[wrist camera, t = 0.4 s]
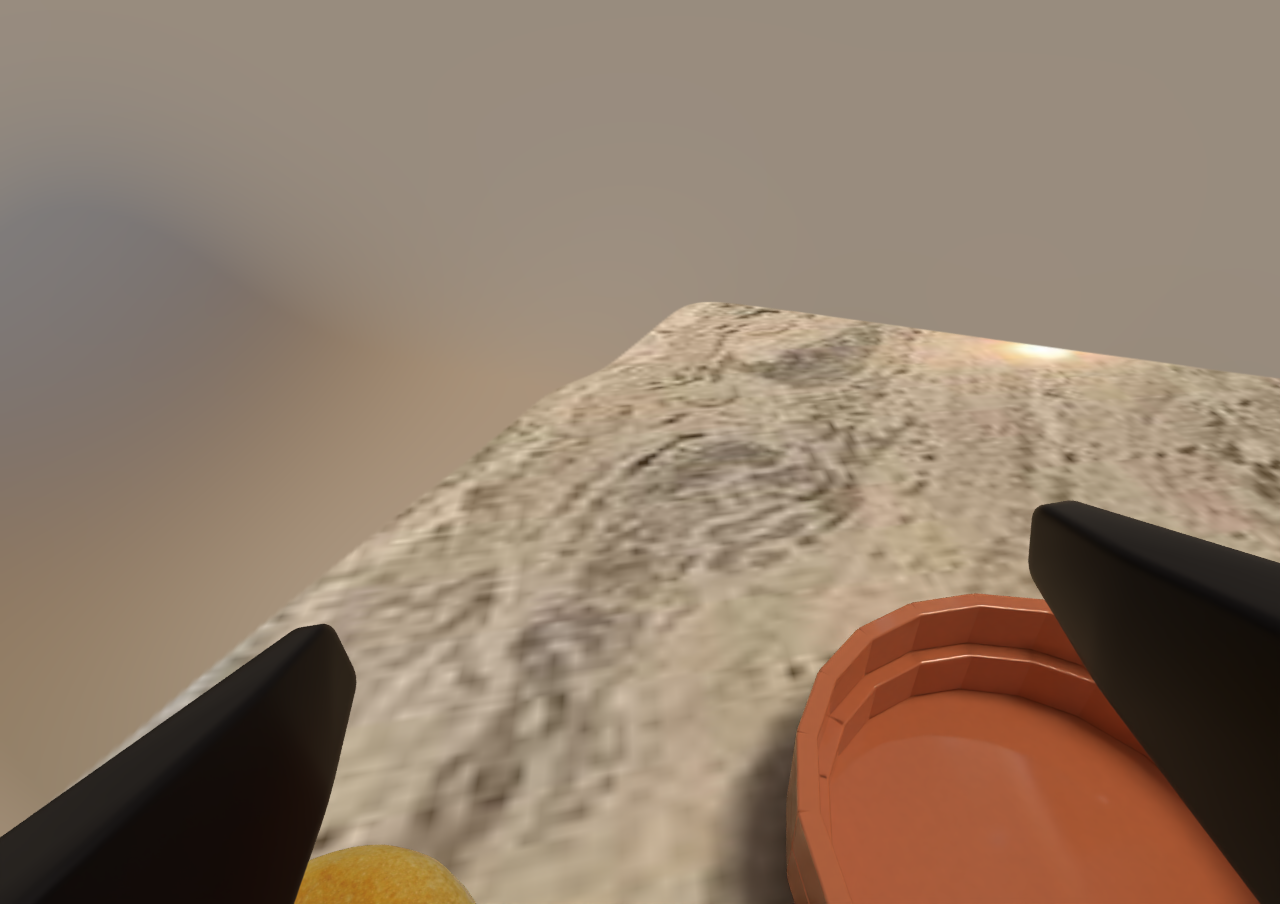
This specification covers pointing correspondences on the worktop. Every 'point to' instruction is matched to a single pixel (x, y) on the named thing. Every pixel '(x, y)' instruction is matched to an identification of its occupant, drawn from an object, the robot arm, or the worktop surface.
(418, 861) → the bread roll
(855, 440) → the worktop surface
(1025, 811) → the terracotta bowl
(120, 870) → the robot arm
